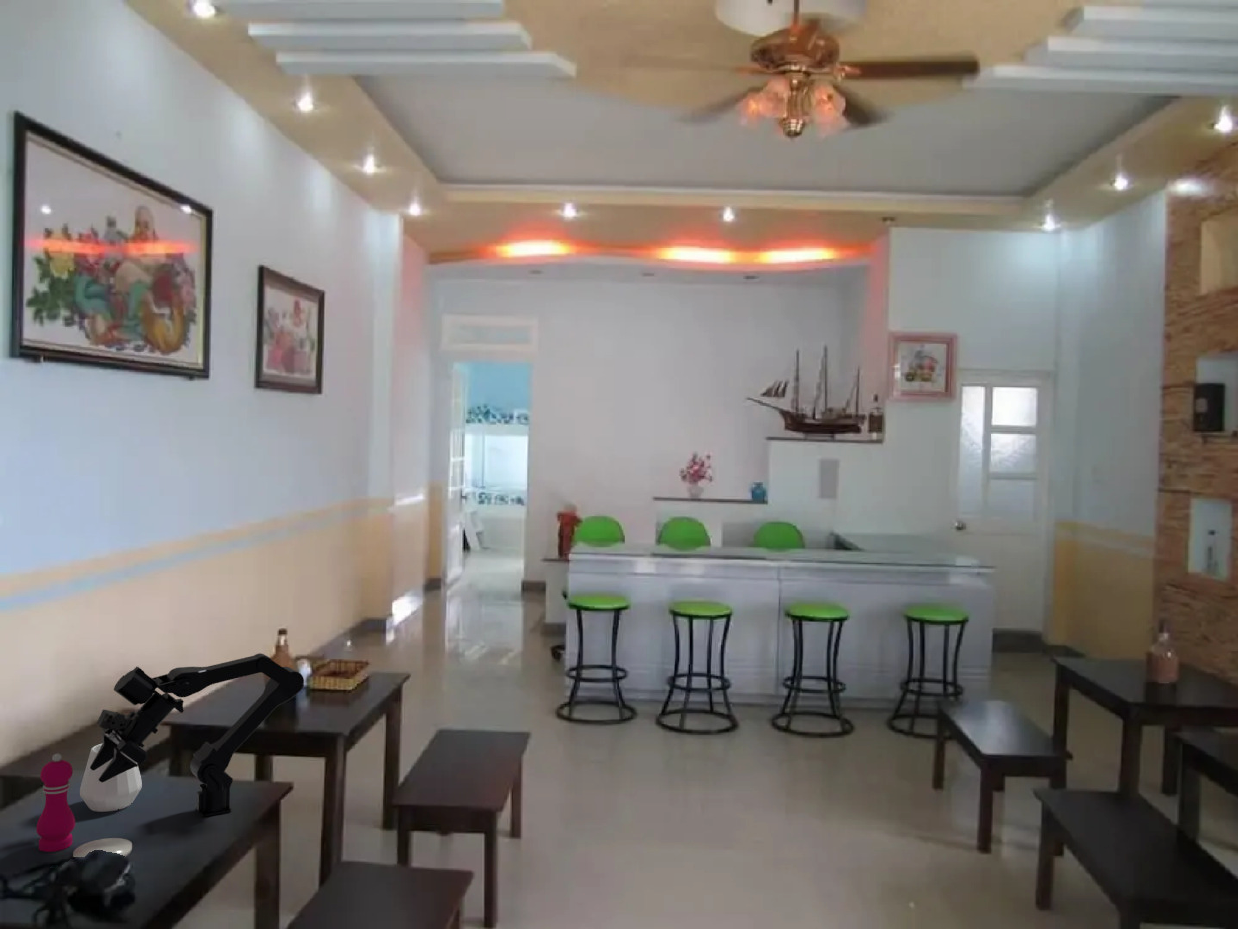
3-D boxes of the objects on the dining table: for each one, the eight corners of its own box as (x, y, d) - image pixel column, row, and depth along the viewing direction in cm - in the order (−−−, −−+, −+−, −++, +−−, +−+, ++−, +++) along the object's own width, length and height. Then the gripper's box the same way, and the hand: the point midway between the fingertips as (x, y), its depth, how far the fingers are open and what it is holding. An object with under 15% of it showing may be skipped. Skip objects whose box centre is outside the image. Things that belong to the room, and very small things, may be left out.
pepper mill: (33, 855, 205) (34, 761, 204) (38, 842, 211) (39, 750, 211) (72, 850, 207) (74, 757, 207) (76, 837, 214) (77, 747, 214)
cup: (136, 812, 229) (137, 754, 228) (72, 817, 225) (73, 757, 224) (146, 792, 241) (147, 736, 241) (86, 796, 238) (87, 739, 237)
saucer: (127, 838, 214) (127, 834, 214) (135, 857, 205) (135, 852, 205) (70, 849, 208) (70, 845, 208) (75, 869, 199) (76, 864, 199)
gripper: (112, 687, 225) (58, 743, 218) (131, 706, 210) (74, 767, 204) (149, 714, 230) (97, 771, 224) (170, 735, 216) (116, 795, 209)
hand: (95, 775), depth 215 cm, fingers open, 9 cm apart
